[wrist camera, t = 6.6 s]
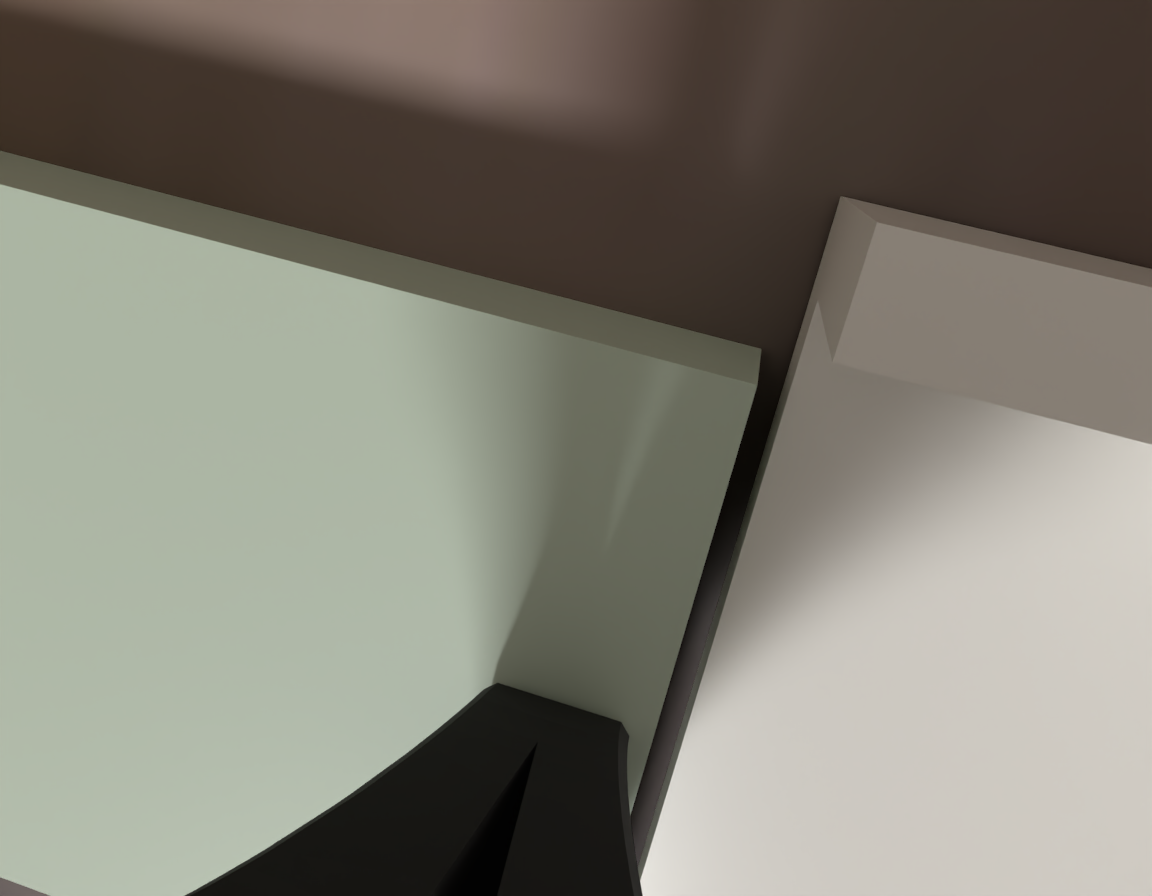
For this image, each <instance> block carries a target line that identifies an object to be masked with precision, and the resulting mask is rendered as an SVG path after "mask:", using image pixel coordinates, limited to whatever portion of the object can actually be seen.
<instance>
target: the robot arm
mask: <svg viewBox="0 0 1152 896" xmlns="http://www.w3.org/2000/svg"><path fill="white" fill-rule="evenodd" d="M628 742H629V734H628V733H627V731H626V729H625V727H624V726H623V724H622V722H620V721H617V720H614V719H611V718H608V717H605V716H601V715H598V714H595V713H592V712H589V711H586V710H582V709H579V708H576V707H573V706H570V705H567V704H563V703H560V702H557V701H554V700H551V699H548V698H545V697H541V696H538V695H535V694H532V693H529V692H526V691H522V690H519V689H516V688H513V687H510V686H507V685H504V684H500V683H496V684H494V685H492V686H489V687H487V688H485V689H484V690H482V691H481V692H480V693H479V694H478V695H477V696H476V697H475V698H474V699H472V700H471V701H470V702H469V703H468V704H467V705H466V706H464V707H463V708H462V709H461V710H460V711H459V712H457V713H456V714H455V715H454V716H453V717H452V718H450V719H449V720H448V721H447V722H445V723H444V724H443V725H442V726H441V727H439V728H438V729H437V730H436V731H434V732H433V733H432V734H431V735H429V736H428V737H427V738H425V739H424V740H423V741H422V742H420V743H419V744H418V745H417V746H415V747H414V748H413V749H411V750H410V751H409V752H408V753H406V754H405V755H404V756H402V757H401V758H399V759H398V760H397V761H395V762H394V763H393V764H391V765H390V766H388V767H387V768H386V769H384V770H383V771H382V772H380V773H379V774H377V775H376V776H375V777H373V778H372V779H371V780H369V781H368V782H366V783H365V784H364V785H362V786H361V787H360V788H358V789H357V790H355V791H354V792H353V793H351V794H350V795H348V796H347V797H345V798H344V799H343V800H341V801H340V802H338V803H337V804H335V805H334V806H332V807H331V808H329V809H327V810H326V811H324V812H323V813H321V814H320V815H318V816H316V817H315V818H313V819H312V820H310V821H309V822H307V823H306V824H304V825H302V826H301V827H299V828H298V829H296V830H295V831H293V832H291V833H290V834H288V835H287V836H285V837H284V838H282V839H281V840H279V841H277V842H276V843H274V844H273V845H271V846H270V847H268V848H267V849H265V850H263V851H262V852H260V853H258V854H257V855H255V856H253V857H252V858H250V859H248V860H247V861H245V862H243V863H241V864H240V865H238V866H236V867H235V868H233V869H231V870H229V871H228V872H226V873H224V874H223V875H221V876H219V877H217V878H216V879H214V880H212V881H210V882H208V883H207V884H205V885H203V886H201V887H199V888H198V889H196V890H194V891H192V892H190V893H188V894H187V895H185V896H643V895H642V889H641V884H640V878H639V872H638V867H637V861H636V856H635V849H634V842H633V835H632V827H631V818H630V807H629V797H628V781H627V753H628Z"/></svg>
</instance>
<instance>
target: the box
mask: <svg viewBox="0 0 1152 896" xmlns="http://www.w3.org/2000/svg"><path fill="white" fill-rule="evenodd" d="M638 872H639V878H640V884H641V889H642V895H643V896H1152V269H1149V268H1145V267H1141V266H1137V265H1132V264H1128V263H1124V262H1120V261H1115V260H1111V259H1107V258H1103V257H1098V256H1094V255H1090V254H1086V253H1081V252H1077V251H1073V250H1069V249H1064V248H1060V247H1056V246H1051V245H1047V244H1043V243H1039V242H1034V241H1030V240H1026V239H1022V238H1017V237H1013V236H1009V235H1005V234H1000V233H996V232H992V231H988V230H983V229H979V228H975V227H971V226H966V225H962V224H958V223H954V222H949V221H945V220H941V219H936V218H932V217H928V216H924V215H919V214H915V213H911V212H907V211H902V210H898V209H894V208H890V207H885V206H881V205H877V204H873V203H868V202H864V201H860V200H856V199H851V198H847V197H843V196H841V197H840V200H839V203H838V207H837V210H836V213H835V217H834V220H833V223H832V227H831V230H830V233H829V237H828V240H827V243H826V246H825V250H824V253H823V256H822V260H821V263H820V266H819V270H818V273H817V276H816V280H815V283H814V286H813V289H812V293H811V296H810V299H809V303H808V306H807V309H806V313H805V316H804V319H803V322H802V326H801V329H800V332H799V336H798V339H797V342H796V346H795V349H794V352H793V356H792V359H791V362H790V365H789V369H788V372H787V375H786V379H785V382H784V385H783V389H782V392H781V395H780V399H779V402H778V405H777V408H776V412H775V415H774V418H773V422H772V425H771V428H770V432H769V435H768V438H767V441H766V445H765V448H764V451H763V455H762V458H761V461H760V465H759V468H758V471H757V475H756V478H755V481H754V484H753V488H752V491H751V494H750V498H749V501H748V504H747V508H746V511H745V514H744V518H743V521H742V524H741V527H740V531H739V534H738V537H737V541H736V544H735V547H734V551H733V554H732V557H731V560H730V564H729V567H728V570H727V574H726V577H725V580H724V584H723V587H722V590H721V594H720V597H719V600H718V603H717V607H716V610H715V613H714V617H713V620H712V623H711V627H710V630H709V633H708V637H707V640H706V643H705V646H704V650H703V653H702V656H701V660H700V663H699V666H698V670H697V673H696V676H695V679H694V683H693V686H692V689H691V693H690V696H689V699H688V703H687V706H686V709H685V713H684V716H683V719H682V722H681V726H680V729H679V732H678V736H677V739H676V742H675V746H674V749H673V752H672V756H671V759H670V762H669V765H668V769H667V772H666V775H665V779H664V782H663V785H662V789H661V792H660V795H659V798H658V802H657V805H656V808H655V812H654V815H653V818H652V822H651V825H650V828H649V832H648V835H647V838H646V841H645V845H644V848H643V851H642V855H641V858H640V861H639V865H638Z"/></svg>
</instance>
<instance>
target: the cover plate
mask: <svg viewBox="0 0 1152 896" xmlns="http://www.w3.org/2000/svg"><path fill="white" fill-rule="evenodd" d="M760 358H761V349H760V348H756V347H752V346H748V345H745V344H741V343H737V342H733V341H729V340H725V339H722V338H718V337H714V336H710V335H706V334H702V333H699V332H695V331H691V330H687V329H683V328H679V327H675V326H672V325H668V324H664V323H660V322H656V321H652V320H649V319H645V318H641V317H637V316H633V315H629V314H626V313H622V312H618V311H614V310H610V309H606V308H603V307H599V306H595V305H591V304H587V303H583V302H579V301H576V300H572V299H568V298H564V297H560V296H556V295H553V294H549V293H545V292H541V291H537V290H533V289H530V288H526V287H522V286H518V285H514V284H510V283H507V282H503V281H499V280H495V279H491V278H487V277H483V276H480V275H476V274H472V273H468V272H464V271H460V270H457V269H453V268H449V267H445V266H441V265H437V264H434V263H430V262H426V261H422V260H418V259H414V258H411V257H407V256H403V255H399V254H395V253H391V252H387V251H384V250H380V249H376V248H372V247H368V246H364V245H361V244H357V243H353V242H349V241H345V240H341V239H338V238H334V237H330V236H326V235H322V234H318V233H315V232H311V231H307V230H303V229H299V228H295V227H292V226H288V225H284V224H280V223H276V222H272V221H268V220H265V219H261V218H257V217H253V216H249V215H245V214H242V213H238V212H234V211H230V210H226V209H222V208H219V207H215V206H211V205H207V204H203V203H199V202H196V201H192V200H188V199H184V198H180V197H176V196H172V195H169V194H165V193H161V192H157V191H153V190H149V189H146V188H142V187H138V186H134V185H130V184H126V183H123V182H119V181H115V180H111V179H107V178H103V177H100V176H96V175H92V174H88V173H84V172H80V171H76V170H73V169H69V168H65V167H61V166H57V165H53V164H50V163H46V162H42V161H38V160H34V159H30V158H27V157H23V156H19V155H15V154H11V153H7V152H4V151H0V877H1V878H4V879H7V880H9V881H12V882H15V883H18V884H20V885H23V886H26V887H28V888H31V889H34V890H36V891H39V892H42V893H45V894H47V895H50V896H185V895H187V894H188V893H190V892H192V891H194V890H196V889H198V888H199V887H201V886H203V885H205V884H207V883H208V882H210V881H212V880H214V879H216V878H217V877H219V876H221V875H223V874H224V873H226V872H228V871H229V870H231V869H233V868H235V867H236V866H238V865H240V864H241V863H243V862H245V861H247V860H248V859H250V858H252V857H253V856H255V855H257V854H258V853H260V852H262V851H263V850H265V849H267V848H268V847H270V846H271V845H273V844H274V843H276V842H277V841H279V840H281V839H282V838H284V837H285V836H287V835H288V834H290V833H291V832H293V831H295V830H296V829H298V828H299V827H301V826H302V825H304V824H306V823H307V822H309V821H310V820H312V819H313V818H315V817H316V816H318V815H320V814H321V813H323V812H324V811H326V810H327V809H329V808H331V807H332V806H334V805H335V804H337V803H338V802H340V801H341V800H343V799H344V798H345V797H347V796H348V795H350V794H351V793H353V792H354V791H355V790H357V789H358V788H360V787H361V786H362V785H364V784H365V783H366V782H368V781H369V780H371V779H372V778H373V777H375V776H376V775H377V774H379V773H380V772H382V771H383V770H384V769H386V768H387V767H388V766H390V765H391V764H393V763H394V762H395V761H397V760H398V759H399V758H401V757H402V756H404V755H405V754H406V753H408V752H409V751H410V750H411V749H413V748H414V747H415V746H417V745H418V744H419V743H420V742H422V741H423V740H424V739H425V738H427V737H428V736H429V735H431V734H432V733H433V732H434V731H436V730H437V729H438V728H439V727H441V726H442V725H443V724H444V723H445V722H447V721H448V720H449V719H450V718H452V717H453V716H454V715H455V714H456V713H457V712H459V711H460V710H461V709H462V708H463V707H464V706H466V705H467V704H468V703H469V702H470V701H471V700H472V699H474V698H475V697H476V696H477V695H478V694H479V693H480V692H481V691H482V690H484V689H485V688H487V687H489V686H492V685H494V684H496V683H500V684H504V685H507V686H510V687H513V688H516V689H519V690H522V691H526V692H529V693H532V694H535V695H538V696H541V697H545V698H548V699H551V700H554V701H557V702H560V703H563V704H567V705H570V706H573V707H576V708H579V709H582V710H586V711H589V712H592V713H595V714H598V715H601V716H605V717H608V718H611V719H614V720H617V721H620V722H622V724H623V726H624V727H625V729H626V731H627V733H628V734H629V742H628V753H627V781H628V797H629V807H630V815H631V812H632V808H633V805H634V802H635V798H636V795H637V791H638V788H639V785H640V781H641V778H642V774H643V771H644V768H645V764H646V761H647V758H648V754H649V751H650V747H651V744H652V741H653V737H654V734H655V730H656V727H657V724H658V720H659V717H660V713H661V710H662V707H663V703H664V700H665V697H666V693H667V690H668V686H669V683H670V680H671V676H672V673H673V669H674V666H675V663H676V659H677V656H678V653H679V649H680V646H681V642H682V639H683V636H684V632H685V629H686V625H687V622H688V619H689V615H690V612H691V609H692V605H693V602H694V598H695V595H696V592H697V588H698V585H699V581H700V578H701V575H702V571H703V568H704V564H705V561H706V558H707V554H708V551H709V548H710V544H711V541H712V537H713V534H714V531H715V527H716V524H717V520H718V517H719V514H720V510H721V507H722V504H723V500H724V497H725V493H726V490H727V487H728V483H729V480H730V476H731V473H732V470H733V466H734V463H735V460H736V456H737V453H738V449H739V446H740V443H741V439H742V436H743V432H744V429H745V426H746V422H747V419H748V416H749V412H750V409H751V405H752V402H753V399H754V395H755V392H756V388H757V385H758V376H759V367H760Z"/></svg>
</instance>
